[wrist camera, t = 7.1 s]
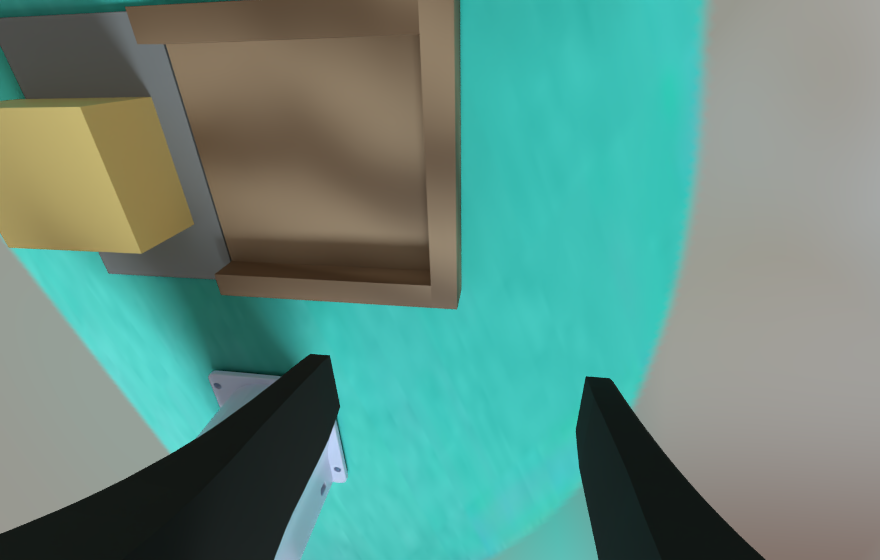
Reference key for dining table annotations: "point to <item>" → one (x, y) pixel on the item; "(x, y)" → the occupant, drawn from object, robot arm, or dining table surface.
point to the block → (87, 176)
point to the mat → (122, 75)
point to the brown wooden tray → (326, 142)
